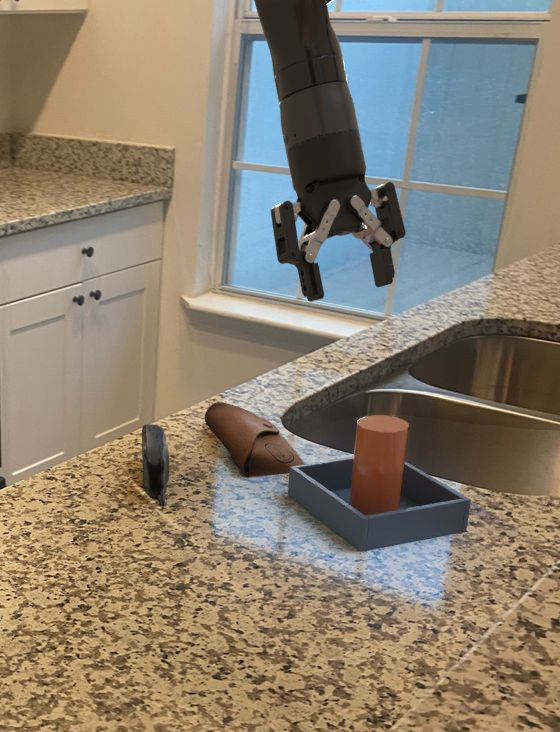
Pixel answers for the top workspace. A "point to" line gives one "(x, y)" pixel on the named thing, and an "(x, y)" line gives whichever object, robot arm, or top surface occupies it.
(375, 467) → the reddish orange cylinder
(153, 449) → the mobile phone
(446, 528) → the plastic tray
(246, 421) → the sunglasses case
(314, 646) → the top surface
